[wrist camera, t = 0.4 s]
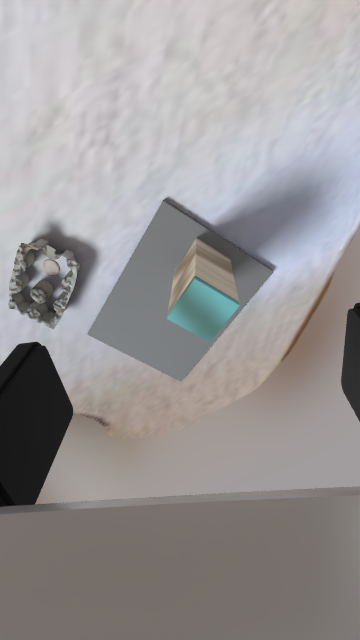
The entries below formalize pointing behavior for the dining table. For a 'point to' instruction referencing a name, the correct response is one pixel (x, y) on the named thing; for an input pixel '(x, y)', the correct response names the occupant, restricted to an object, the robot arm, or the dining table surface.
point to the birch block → (203, 291)
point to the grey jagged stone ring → (41, 283)
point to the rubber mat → (166, 294)
